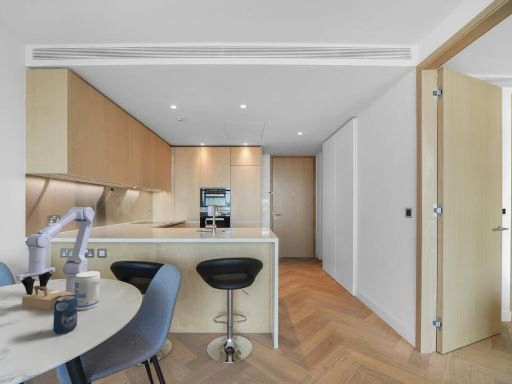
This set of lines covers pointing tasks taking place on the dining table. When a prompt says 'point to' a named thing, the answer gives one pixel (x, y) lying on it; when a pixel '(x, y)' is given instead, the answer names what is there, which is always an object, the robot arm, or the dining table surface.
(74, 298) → the soda can
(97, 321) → the dining table surface
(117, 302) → the dining table surface
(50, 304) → the carton
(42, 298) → the far flap
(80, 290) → the supplement tub
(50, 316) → the dining table surface
